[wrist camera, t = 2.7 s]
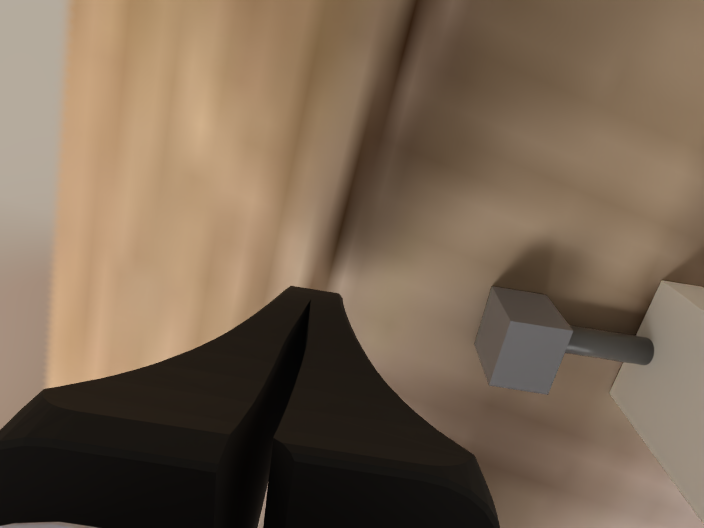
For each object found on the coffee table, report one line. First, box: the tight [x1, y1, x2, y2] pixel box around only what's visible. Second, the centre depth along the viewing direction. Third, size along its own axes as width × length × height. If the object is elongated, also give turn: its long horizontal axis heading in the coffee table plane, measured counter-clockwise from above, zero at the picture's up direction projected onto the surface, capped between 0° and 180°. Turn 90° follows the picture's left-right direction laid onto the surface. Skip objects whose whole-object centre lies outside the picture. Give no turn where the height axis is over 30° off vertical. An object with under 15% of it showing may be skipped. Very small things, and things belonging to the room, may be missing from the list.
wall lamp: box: [474, 280, 704, 524], centre depth 11 cm, size 9×4×5 cm, turn 81°
